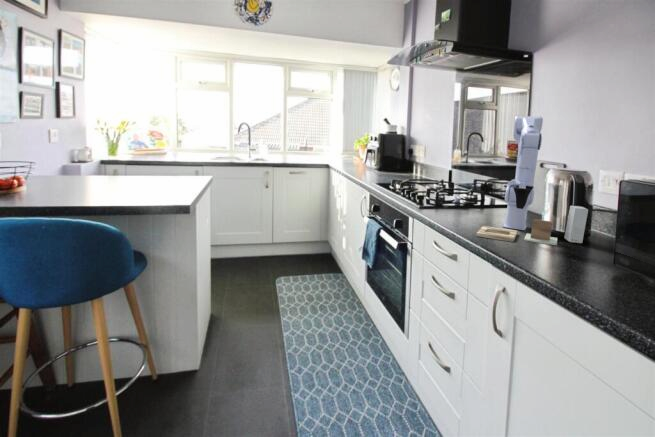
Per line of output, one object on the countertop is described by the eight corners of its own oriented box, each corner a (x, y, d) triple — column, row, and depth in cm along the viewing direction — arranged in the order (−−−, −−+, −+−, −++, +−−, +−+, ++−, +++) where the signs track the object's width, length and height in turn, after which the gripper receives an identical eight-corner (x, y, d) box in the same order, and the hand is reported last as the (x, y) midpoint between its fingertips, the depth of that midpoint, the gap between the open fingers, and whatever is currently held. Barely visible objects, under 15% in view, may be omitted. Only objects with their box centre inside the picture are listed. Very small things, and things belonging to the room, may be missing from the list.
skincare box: (582, 243, 152) (588, 209, 149) (569, 242, 153) (575, 208, 150) (576, 239, 158) (582, 206, 155) (563, 238, 159) (569, 205, 156)
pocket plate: (482, 228, 166) (483, 225, 166) (517, 234, 161) (517, 230, 160) (476, 236, 154) (476, 232, 154) (513, 241, 149) (513, 238, 148)
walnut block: (530, 235, 157) (533, 219, 155) (549, 238, 154) (552, 221, 153) (530, 237, 153) (533, 220, 152) (549, 240, 151) (552, 223, 149)
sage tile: (526, 234, 160) (526, 233, 160) (557, 239, 156) (557, 237, 156) (524, 240, 152) (524, 238, 151) (556, 245, 147) (556, 243, 147)
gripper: (516, 166, 161) (510, 203, 164) (512, 168, 149) (506, 208, 151) (537, 168, 158) (531, 205, 161) (535, 170, 145) (528, 211, 148)
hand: (520, 207), depth 156 cm, fingers open, 7 cm apart
